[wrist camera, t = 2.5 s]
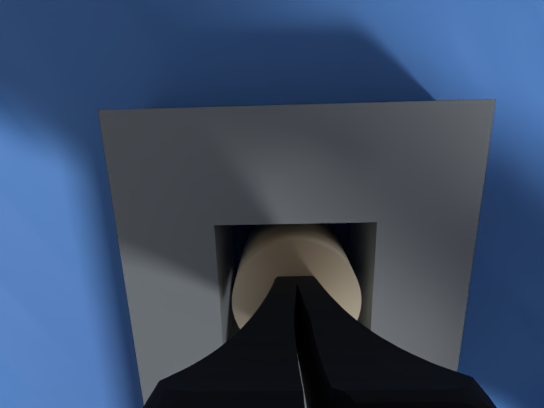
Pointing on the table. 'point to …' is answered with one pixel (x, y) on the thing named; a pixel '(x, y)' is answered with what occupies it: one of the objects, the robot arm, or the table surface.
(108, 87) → the table surface
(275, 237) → the birch plunger
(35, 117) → the table surface
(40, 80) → the table surface
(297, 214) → the block
